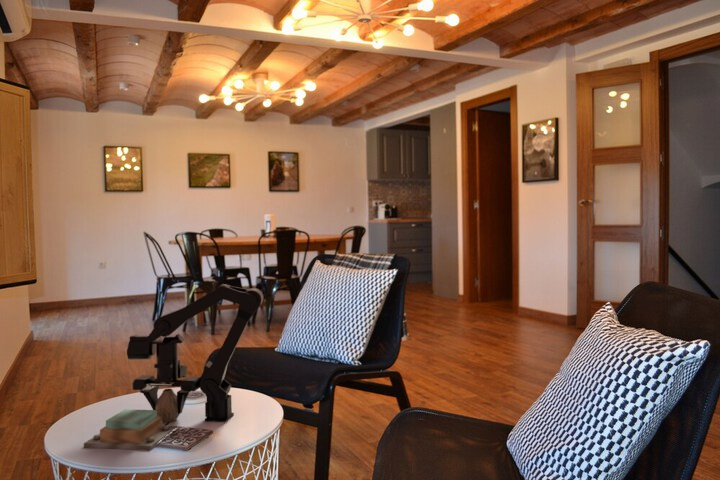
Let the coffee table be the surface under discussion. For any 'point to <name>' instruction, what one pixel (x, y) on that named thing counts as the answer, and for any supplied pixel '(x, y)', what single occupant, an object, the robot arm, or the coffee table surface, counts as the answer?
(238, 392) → the coffee table surface
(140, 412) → the stacked plates with bolts
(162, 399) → the vase
